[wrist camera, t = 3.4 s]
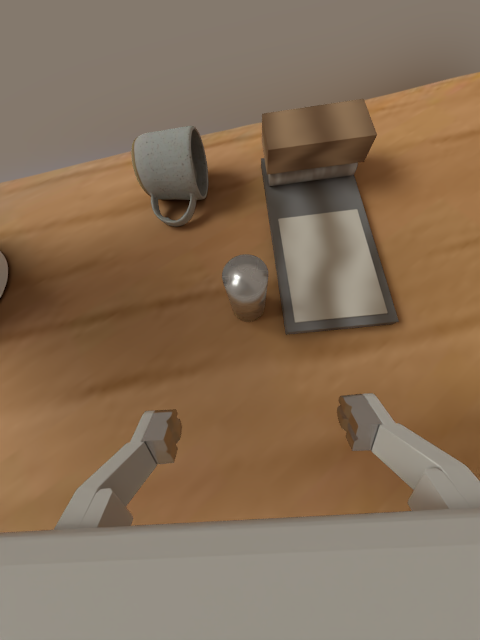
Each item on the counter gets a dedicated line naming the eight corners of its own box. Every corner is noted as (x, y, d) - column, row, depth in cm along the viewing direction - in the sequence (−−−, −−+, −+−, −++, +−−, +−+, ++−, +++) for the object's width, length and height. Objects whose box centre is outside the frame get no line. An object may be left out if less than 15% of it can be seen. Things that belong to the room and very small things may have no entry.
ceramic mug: (158, 172, 33) (130, 114, 26) (210, 170, 33) (196, 109, 25) (149, 230, 31) (114, 184, 23) (205, 229, 30) (188, 180, 23)
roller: (233, 323, 26) (223, 298, 18) (231, 292, 27) (220, 257, 19) (266, 319, 25) (270, 293, 18) (262, 289, 27) (265, 252, 19)
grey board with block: (285, 334, 25) (295, 318, 18) (261, 166, 32) (262, 113, 26) (392, 324, 24) (439, 304, 18) (342, 155, 32) (363, 98, 25)
